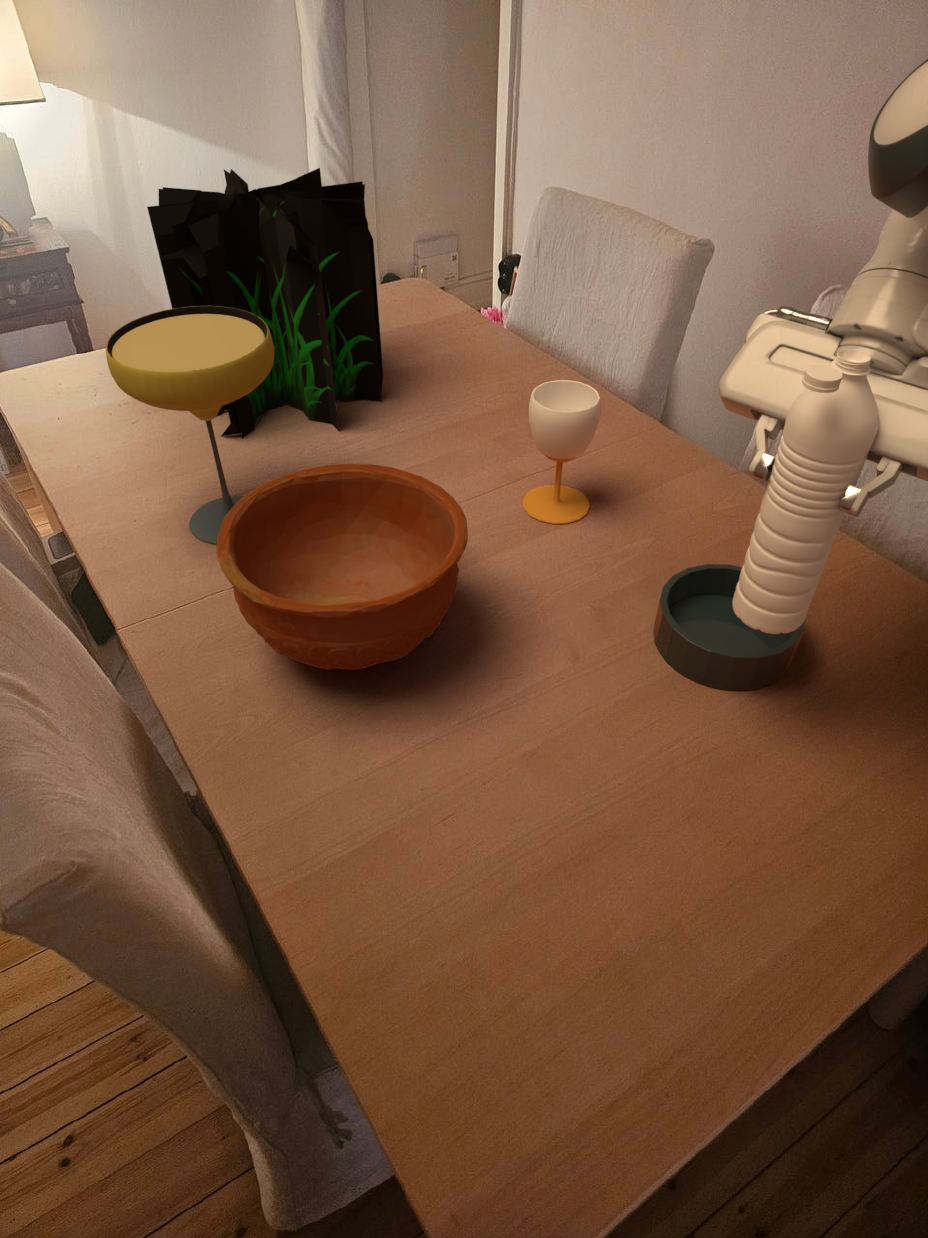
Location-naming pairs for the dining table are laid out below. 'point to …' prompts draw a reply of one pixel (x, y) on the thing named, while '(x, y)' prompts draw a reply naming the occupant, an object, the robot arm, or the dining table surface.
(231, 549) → the bowl
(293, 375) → the decorative plant
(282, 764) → the dining table surface
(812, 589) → the water bottle
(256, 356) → the cocktail glass
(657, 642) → the holder
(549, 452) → the cup
